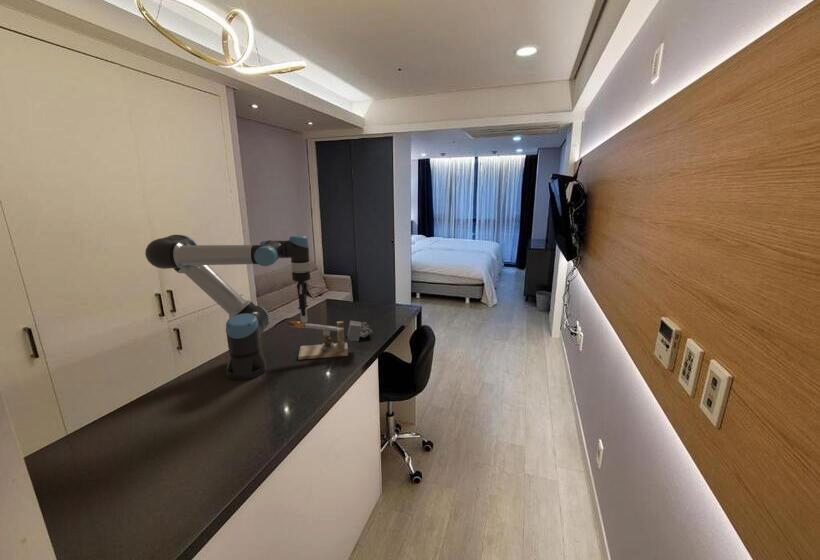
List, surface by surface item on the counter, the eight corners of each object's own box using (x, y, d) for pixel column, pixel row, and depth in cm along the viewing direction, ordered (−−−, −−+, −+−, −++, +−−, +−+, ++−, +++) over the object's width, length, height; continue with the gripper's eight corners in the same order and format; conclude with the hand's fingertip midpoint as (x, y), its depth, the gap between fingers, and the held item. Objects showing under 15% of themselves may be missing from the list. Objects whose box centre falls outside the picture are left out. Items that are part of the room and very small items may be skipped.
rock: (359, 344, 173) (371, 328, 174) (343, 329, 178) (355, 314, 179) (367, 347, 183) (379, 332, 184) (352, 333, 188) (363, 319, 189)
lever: (287, 333, 152) (289, 318, 151) (289, 328, 158) (291, 313, 157) (358, 341, 160) (361, 326, 159) (357, 336, 166) (360, 321, 165)
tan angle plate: (298, 359, 154) (296, 332, 151) (300, 348, 164) (299, 323, 161) (348, 355, 158) (347, 329, 155) (347, 345, 169) (346, 320, 166)
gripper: (308, 274, 144) (311, 326, 150) (310, 267, 157) (313, 316, 163) (290, 274, 143) (293, 327, 149) (293, 268, 155) (297, 317, 161)
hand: (304, 321), depth 156 cm, fingers closed
